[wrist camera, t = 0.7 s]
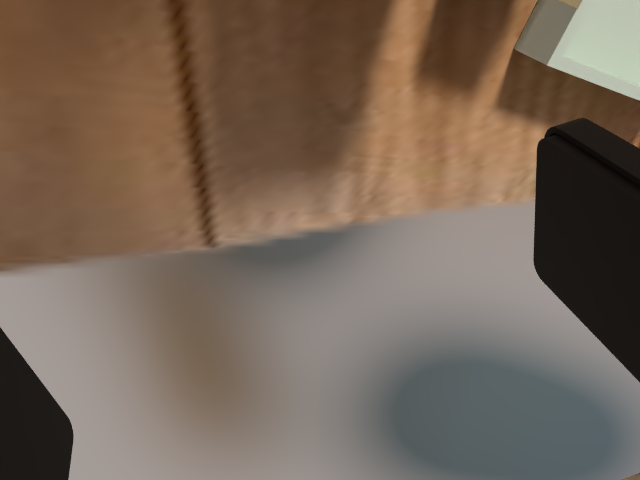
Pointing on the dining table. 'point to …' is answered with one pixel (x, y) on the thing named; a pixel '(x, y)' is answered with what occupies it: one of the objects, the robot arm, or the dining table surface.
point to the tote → (588, 41)
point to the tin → (571, 3)
